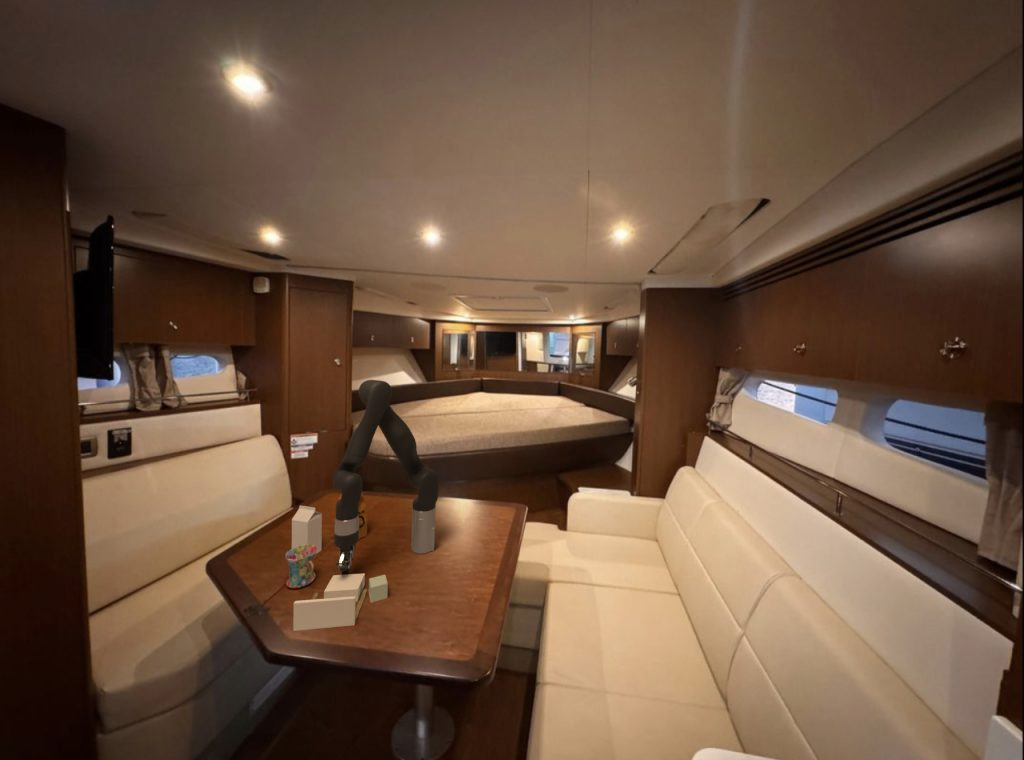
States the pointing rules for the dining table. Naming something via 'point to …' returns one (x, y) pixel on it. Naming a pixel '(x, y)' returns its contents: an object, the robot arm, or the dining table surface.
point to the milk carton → (307, 528)
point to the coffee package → (362, 517)
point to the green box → (378, 588)
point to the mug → (300, 565)
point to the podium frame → (357, 605)
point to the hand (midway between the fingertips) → (346, 577)
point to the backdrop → (324, 613)
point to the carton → (345, 586)
